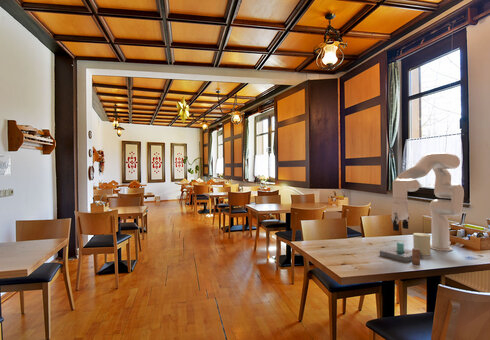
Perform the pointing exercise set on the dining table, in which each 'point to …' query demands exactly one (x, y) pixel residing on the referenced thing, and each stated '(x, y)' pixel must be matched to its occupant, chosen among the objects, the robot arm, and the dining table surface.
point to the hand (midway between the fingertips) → (400, 229)
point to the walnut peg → (416, 256)
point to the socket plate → (398, 254)
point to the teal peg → (400, 247)
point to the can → (422, 243)
